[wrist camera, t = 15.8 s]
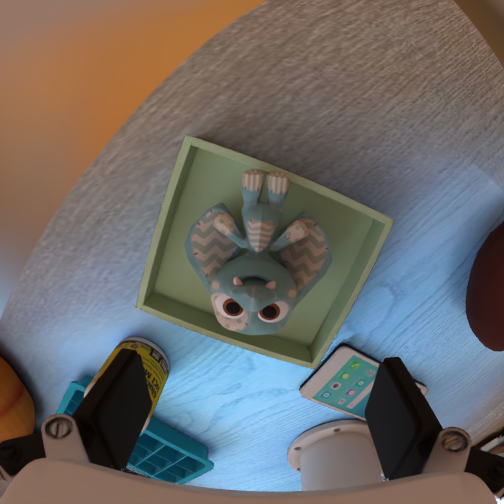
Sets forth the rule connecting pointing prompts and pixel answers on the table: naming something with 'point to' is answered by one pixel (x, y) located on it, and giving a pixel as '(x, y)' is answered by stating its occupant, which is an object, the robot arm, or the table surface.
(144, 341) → the pill bottle
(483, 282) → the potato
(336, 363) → the smartphone
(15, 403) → the pumpkin
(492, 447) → the decorative knife
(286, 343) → the tray
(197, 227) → the stuffed animal
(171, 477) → the ice cube tray
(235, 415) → the table surface
